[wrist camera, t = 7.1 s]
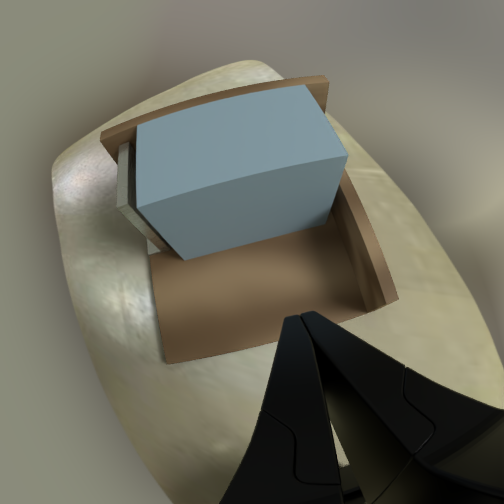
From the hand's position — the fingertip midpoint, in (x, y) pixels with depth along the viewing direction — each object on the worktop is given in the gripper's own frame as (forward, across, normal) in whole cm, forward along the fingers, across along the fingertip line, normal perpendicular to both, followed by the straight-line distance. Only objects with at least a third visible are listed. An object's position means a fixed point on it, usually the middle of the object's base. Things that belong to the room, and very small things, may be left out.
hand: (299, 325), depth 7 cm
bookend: (+18, +8, +1) cm, 20 cm away
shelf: (+16, +1, +4) cm, 16 cm away
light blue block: (+18, 0, +1) cm, 18 cm away
